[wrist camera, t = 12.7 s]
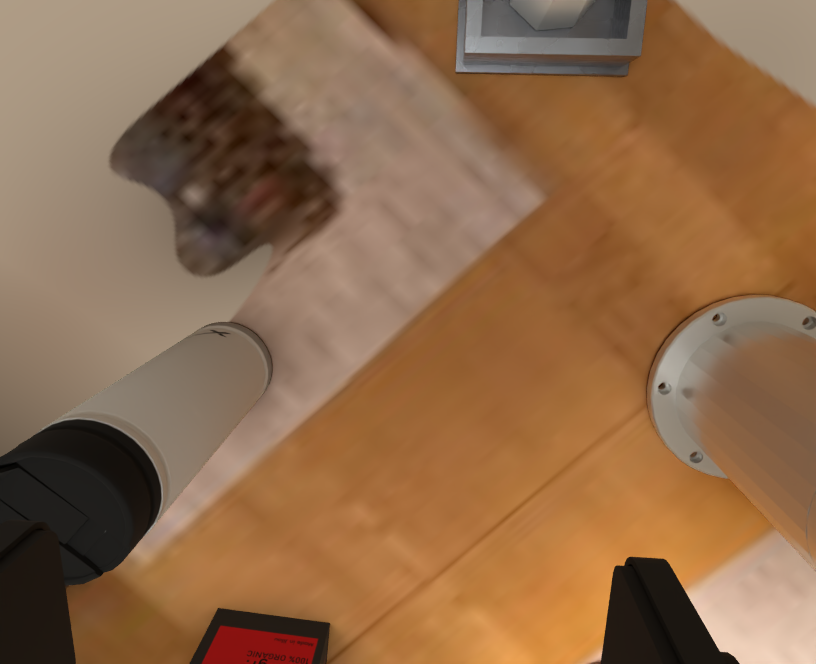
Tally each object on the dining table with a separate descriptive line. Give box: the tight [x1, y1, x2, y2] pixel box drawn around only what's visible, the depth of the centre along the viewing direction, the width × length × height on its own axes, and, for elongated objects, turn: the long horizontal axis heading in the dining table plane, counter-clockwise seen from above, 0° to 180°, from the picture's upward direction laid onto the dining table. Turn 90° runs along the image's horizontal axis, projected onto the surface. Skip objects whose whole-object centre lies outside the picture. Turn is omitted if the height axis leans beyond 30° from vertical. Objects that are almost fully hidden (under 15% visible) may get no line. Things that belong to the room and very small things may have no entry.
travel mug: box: [0, 322, 272, 585], centre depth 32 cm, size 6×7×20 cm
